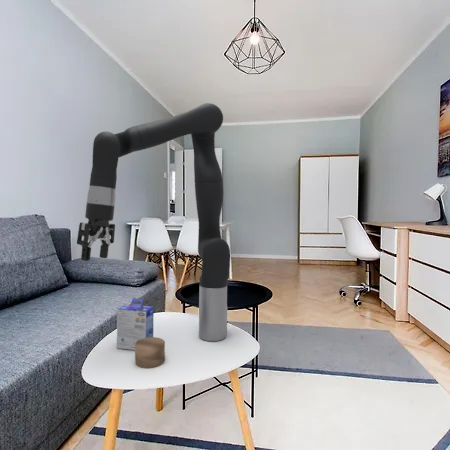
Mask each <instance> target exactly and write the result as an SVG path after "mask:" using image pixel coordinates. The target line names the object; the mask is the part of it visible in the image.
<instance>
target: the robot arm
mask: <svg viewBox="0 0 450 450" xmlns="http://www.w3.org/2000/svg"><path fill="white" fill-rule="evenodd" d="M223 121H224V114H223V111H222V110H221V108H220V107H218V106H217V105H216V104H213V103H212V102H211V103H209V102H206V103H203V104H200V105H199V106H196V107H194V108H192V109H190V110H188V111H184V112H182V113H179V114H176V115H173V116H170V117H167V118H163V119H159V120H154V121H151V122H146V123H141V124H138V125H134V126H131V127H128V128H126V129H125V130H124V131H121V132H119V133H113V132H111V131H102V132H99V133H97V135H96V136H95V137H94V139H93V144H92V166H91V171H90V178H89V187H88V191H87V194H86V195H87V196H86V197H87V198H86V204H85V205H86V206H85V218H86V219H88V221H87V222H81V221H80V223H79V226H78V233H77V238H76V244H77V245H79V246H81V254H80V255H81V257H80V260H82V261H84V262H89V261H91V253H92V245H93V244H94V242H96V241H97V240H99V241H100V243H101V244H100V249H99V258H102V259H106V258H108V254H109V248H110V247H109V246H111V244H114V242H115V234H116V233H115V232H116V224H115V223H109V222H111V221H113V220H114V214H115V206H116V187H117V176H118V175H117V169H118V164H119V163H118V162H119V158H121V157H124V156H127V155H129V154H131V153H134V152H138V151H143V150H147V149H151V148H154V147H157V146H161V145H163V144H165V143H167V142H170V141H172V140H175V139H178V138H180V137H184V136H187V135H190V136H191V140H192V141H191V142H192V148H193V171H194V172H193V173H194V175H193V176H194V194H195V195H194V196H195V201H196V202H195V204H196V212H197V213H196V214H197V219H198V234H197V235H198V239H197V253H198V255H199V257H200V259H201V263H202V266H201V275H200V276H199V292H198V300H199V301H198V337H199V339H200V340H203V341H207V342H219V341H222V340H225V338H226V337H227V333H228V280H229V278H230V269H231V268H230V267H231V249H230V248H231V247H230V245H229V243H228V242H227V241H226V240H224V239H223V238H222V235H221V234H222V233H221V225H220V224H221V223H220V220H221V213H222V208H223V201H224V182H223V181H224V180H223V174H222V170H221V167H220V164H219V161H218V159H217V155H216V154H217V153H216V149H215V148H216V147H215V138H216V137H215V135H216V132H218V130H220V128H221V127H222V125H223Z"/></svg>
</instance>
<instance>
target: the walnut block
mask: <svg viewBox="0 0 450 450" xmlns="http://www.w3.org/2000/svg"><path fill="white" fill-rule="evenodd" d="M165 343H166V342H165V340H164V339H163V338H160V337H155V336H153V337H149V338H144V339H141V340H139V341H137V342H136V344H135V350H134V364H135V365H136V366H137V367H138V368H142V369H152V368H157V367H160V366H161V365H163V364H164V362H165V360H166V358H165V357H166V355H165V354H166V352H165V351H166V349H165V347H166V346H165Z"/></svg>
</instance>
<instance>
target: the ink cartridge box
mask: <svg viewBox="0 0 450 450" xmlns="http://www.w3.org/2000/svg"><path fill="white" fill-rule="evenodd" d="M136 302H140V303H136ZM143 303H144V299H143V298H135V297H132V300H131V302H130V304H124V305H122V306H121V307H119V308H117V309H116V348H117V349H122V350H132V351H135V344H136V342H137V341H139V340H141V339H144V338H149V337H154V313H155V312H154V306H151V305H150V306H149V305H143Z"/></svg>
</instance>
